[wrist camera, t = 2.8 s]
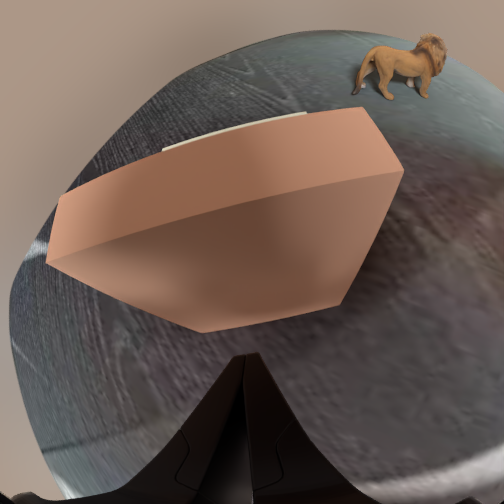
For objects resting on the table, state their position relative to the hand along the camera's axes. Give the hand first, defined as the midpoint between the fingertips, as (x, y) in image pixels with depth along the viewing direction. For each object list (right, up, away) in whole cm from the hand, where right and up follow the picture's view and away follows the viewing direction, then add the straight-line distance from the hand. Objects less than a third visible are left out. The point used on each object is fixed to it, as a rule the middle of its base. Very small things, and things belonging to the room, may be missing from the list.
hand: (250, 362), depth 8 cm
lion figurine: (+19, +25, +18) cm, 36 cm away
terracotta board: (+1, 0, +11) cm, 11 cm away
